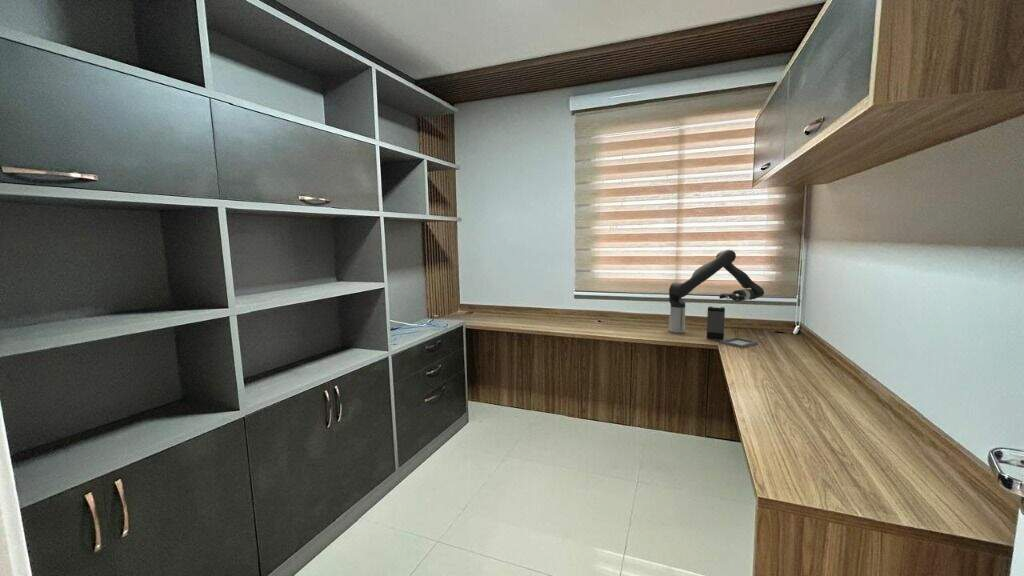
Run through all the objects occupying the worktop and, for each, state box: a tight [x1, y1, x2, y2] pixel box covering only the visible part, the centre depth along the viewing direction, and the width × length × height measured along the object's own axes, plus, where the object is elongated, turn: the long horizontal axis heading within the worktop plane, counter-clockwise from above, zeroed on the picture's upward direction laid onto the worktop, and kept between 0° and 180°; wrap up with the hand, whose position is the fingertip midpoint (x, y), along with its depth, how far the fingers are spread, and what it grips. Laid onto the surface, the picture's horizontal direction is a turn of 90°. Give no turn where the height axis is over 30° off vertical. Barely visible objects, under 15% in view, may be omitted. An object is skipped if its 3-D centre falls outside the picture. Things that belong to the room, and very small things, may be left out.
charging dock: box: [719, 336, 759, 349], centre depth 234 cm, size 13×16×2 cm
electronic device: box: [706, 306, 726, 342], centre depth 244 cm, size 9×6×20 cm, turn 59°
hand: (726, 297), depth 253 cm, fingers open, 8 cm apart
